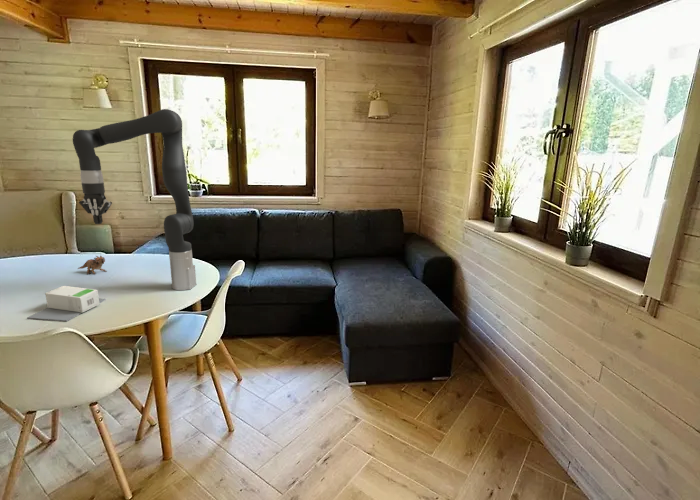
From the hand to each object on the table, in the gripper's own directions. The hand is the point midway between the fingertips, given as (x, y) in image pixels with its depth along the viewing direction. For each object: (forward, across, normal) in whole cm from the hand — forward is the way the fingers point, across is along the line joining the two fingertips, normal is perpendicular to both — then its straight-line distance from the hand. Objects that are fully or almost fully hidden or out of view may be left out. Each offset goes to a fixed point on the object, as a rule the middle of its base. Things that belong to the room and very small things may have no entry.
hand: (98, 223), depth 159 cm
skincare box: (+25, -9, +21) cm, 34 cm away
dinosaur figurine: (+29, +20, -19) cm, 40 cm away
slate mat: (+29, 0, +21) cm, 36 cm away
